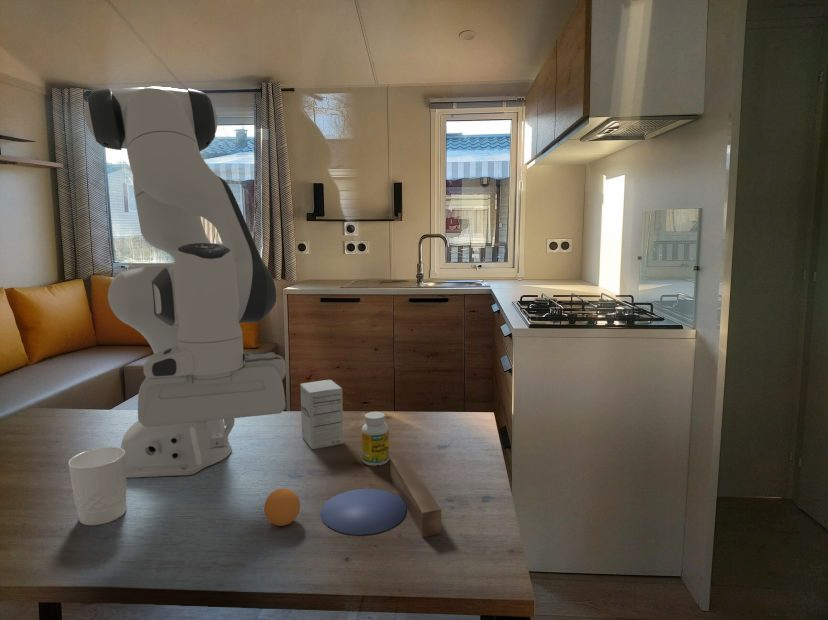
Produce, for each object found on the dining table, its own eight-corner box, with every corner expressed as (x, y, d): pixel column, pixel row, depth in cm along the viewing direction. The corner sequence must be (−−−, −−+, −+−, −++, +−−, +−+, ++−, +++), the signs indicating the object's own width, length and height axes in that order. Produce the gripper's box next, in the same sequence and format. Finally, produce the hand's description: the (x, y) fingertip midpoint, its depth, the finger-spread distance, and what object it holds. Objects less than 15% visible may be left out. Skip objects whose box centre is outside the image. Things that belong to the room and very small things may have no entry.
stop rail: (422, 537, 81) (422, 512, 80) (390, 477, 100) (390, 457, 99) (441, 533, 82) (441, 509, 81) (405, 475, 101) (405, 455, 100)
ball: (265, 535, 81) (263, 501, 81) (264, 516, 87) (263, 484, 86) (302, 529, 83) (300, 496, 82) (299, 511, 88) (298, 480, 87)
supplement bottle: (380, 452, 111) (380, 408, 109) (394, 462, 106) (393, 416, 105) (357, 459, 108) (356, 413, 106) (370, 469, 103) (369, 421, 102)
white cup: (70, 532, 82) (63, 471, 81) (79, 508, 89) (73, 451, 88) (128, 521, 85) (122, 462, 84) (132, 498, 92) (127, 443, 91)
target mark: (326, 541, 80) (326, 540, 80) (316, 496, 93) (316, 495, 93) (416, 526, 84) (416, 525, 84) (394, 485, 97) (394, 484, 97)
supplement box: (301, 438, 119) (299, 383, 117) (333, 432, 122) (332, 378, 120) (310, 450, 112) (308, 392, 110) (344, 443, 115) (343, 387, 113)
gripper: (284, 346, 84) (288, 431, 86) (139, 356, 78) (147, 447, 80) (286, 355, 78) (290, 446, 80) (130, 367, 72) (139, 464, 74)
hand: (217, 446), depth 80 cm, fingers closed
